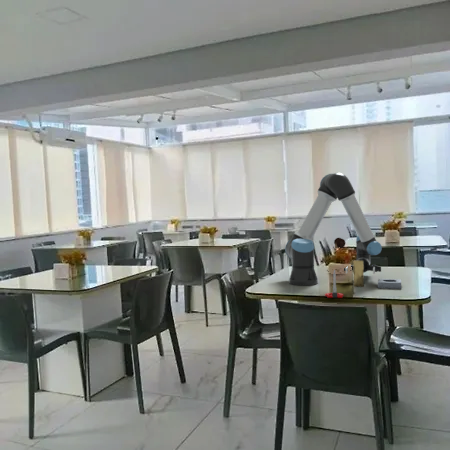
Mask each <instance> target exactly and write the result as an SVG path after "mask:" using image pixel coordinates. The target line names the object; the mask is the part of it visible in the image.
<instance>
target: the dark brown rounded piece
mask: <svg viewBox="0 0 450 450" xmlns="http://www.w3.org/2000/svg"><path fill="white" fill-rule="evenodd" d="M333 243H334V249H335V248H337V247H340V248H344V247H345V246H346V240H345V239H343V238H341V237H336V238H335V239H334V240H333Z"/></svg>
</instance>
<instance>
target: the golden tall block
mask: <svg viewBox="0 0 450 450" xmlns="http://www.w3.org/2000/svg"><path fill="white" fill-rule="evenodd" d="M352 265H353V270H352V271H353V272H352V273H353V287H355V288H363V287H364V286H365V285H364V284H365V282H364V281H365V280H364V279H365V278H364V273H365V272H364V266H363V260H357V259H355V260H353V262H352Z"/></svg>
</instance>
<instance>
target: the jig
mask: <svg viewBox="0 0 450 450" xmlns="http://www.w3.org/2000/svg"><path fill="white" fill-rule="evenodd" d="M377 289H395V290H401V289H402V279H401V278H396V279H395V278H378V279H377Z"/></svg>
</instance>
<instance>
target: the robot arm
mask: <svg viewBox="0 0 450 450" xmlns="http://www.w3.org/2000/svg"><path fill="white" fill-rule="evenodd" d="M319 183H320V184H319V186H318V189H317V194H318V195H317V196H316V198H315V201H314V203H313V204H312V206H311V208H310V209H309V211H308V213H307V215H306V217H305V218H304V221H303V222H302V224H301V226H300V227H299V229H298V231H297V232H294V233H293V235H292V237H291V238H290V239H289V240H288V241H287V242H286V244H285V248H284V250H285V254H286V256H287V257H288V258H289V259H290V260H291V261H292V262H291V263H292V264H291V266H292V267H291V269H292V270H291V273H290V275H289V279H288V282H289V284H290V285H293V286H314V285H317V284H318V283H319V281H318V276H317V273H316V269H315V251H314V250H315V245H314V241H313V240H312V239H313V238H314V236H315V234H316V232H317V230H318V229H319V226H320V225H321V223H322V221H323V219H324V218H325V215H326V213H327V212H328V210H329V208H330V206H331V205H332V203H333V202H336V201H337V200H338V202H339V201H340V202H341V204H342V205H343V208H344V210H345V212H346V214H347V216H348V218H349V221H350V222H351V224H352V226H353V228H354V230H355V233H356V234H357V236H356V241H355V243H356V245H355V246H356V260H363V266H364V273H367V272H369V271H371V272H372V274H373V275H375V274H376V273H377V272H380V273H381V272H382V266H379V265H376V264H373V263H372V261H371V256H377V255H379V254H381V252H382V249H383V248H382V245H381V243H380V242H379V241H377V239H376V237H375V236H374V232H373V231H372V230H371V227H370V225H369V223H368V221H367V218H366V217H365V214H364V212H363V210H362V208H361V205H360V204H359V202H358V199H357V198H356V196H355V195H356V191H355V189H354V187H353V185H352V183H351V181H350V180H349V178H348V177H347V175H345V173H341V172H335V173H334V172H333V173H328V174H326V175H324V177H322V179H321V180H320V182H319ZM371 263H372V264H371ZM351 267H352V270H351V271H353V264H352V265H351ZM345 271H346V272H345ZM343 272H345V274H348V273H349V271H348V266H347V267H346V268H344V271H343Z"/></svg>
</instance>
